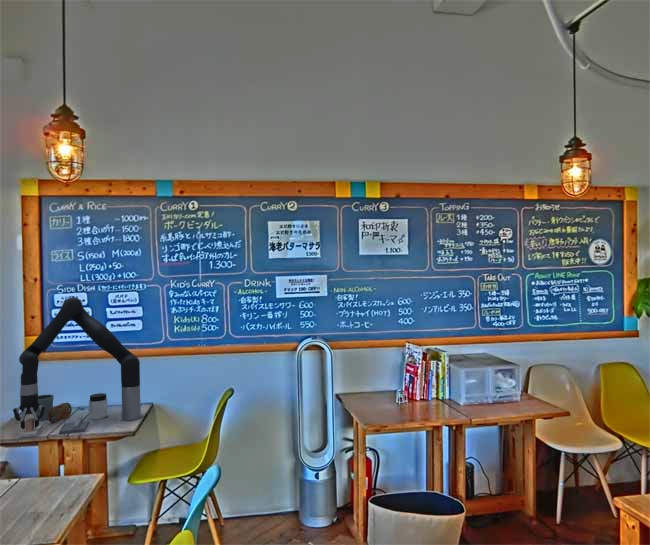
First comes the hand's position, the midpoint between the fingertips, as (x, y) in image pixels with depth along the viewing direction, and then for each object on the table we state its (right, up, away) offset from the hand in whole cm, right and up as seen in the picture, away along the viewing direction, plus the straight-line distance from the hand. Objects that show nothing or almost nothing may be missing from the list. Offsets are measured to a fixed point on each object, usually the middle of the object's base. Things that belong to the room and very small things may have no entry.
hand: (29, 427), depth 237 cm
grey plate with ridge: (+18, -3, +6) cm, 20 cm away
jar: (+21, -3, +26) cm, 34 cm away
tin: (+3, -3, +22) cm, 22 cm away
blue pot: (-8, -3, +25) cm, 26 cm away
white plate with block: (+1, -3, 0) cm, 3 cm away
